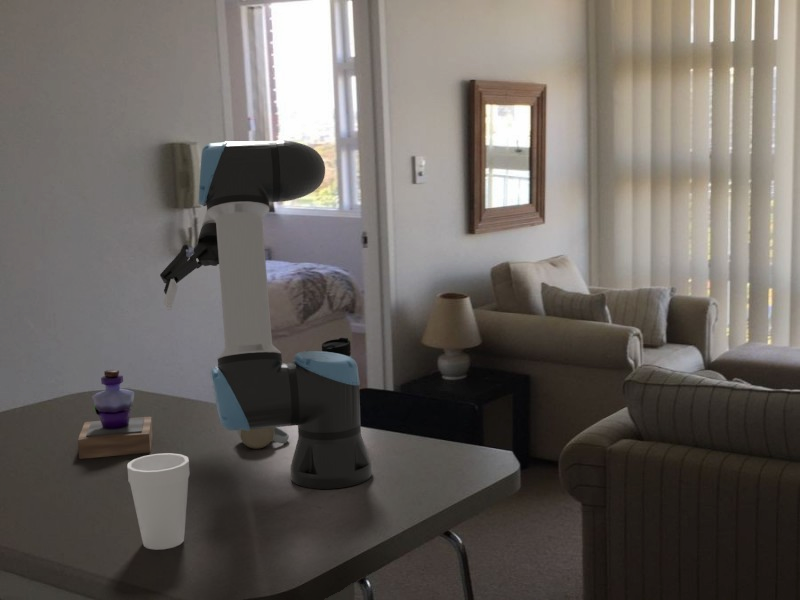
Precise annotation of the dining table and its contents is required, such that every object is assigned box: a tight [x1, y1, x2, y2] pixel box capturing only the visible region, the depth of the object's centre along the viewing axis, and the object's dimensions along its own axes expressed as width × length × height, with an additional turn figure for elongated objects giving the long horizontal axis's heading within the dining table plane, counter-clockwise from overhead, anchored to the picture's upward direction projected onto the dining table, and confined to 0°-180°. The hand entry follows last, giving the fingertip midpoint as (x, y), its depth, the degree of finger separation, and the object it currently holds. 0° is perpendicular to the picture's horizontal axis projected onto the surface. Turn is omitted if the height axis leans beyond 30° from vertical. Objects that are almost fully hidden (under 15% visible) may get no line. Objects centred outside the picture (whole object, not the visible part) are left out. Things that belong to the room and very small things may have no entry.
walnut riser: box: [77, 416, 154, 460], centre depth 210 cm, size 14×14×4 cm
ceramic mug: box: [236, 427, 290, 450], centre depth 208 cm, size 11×8×8 cm
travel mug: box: [321, 337, 352, 358], centre depth 215 cm, size 6×7×20 cm
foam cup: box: [127, 452, 191, 551], centre depth 157 cm, size 10×9×13 cm
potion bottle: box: [91, 369, 135, 430], centre depth 209 cm, size 9×9×12 cm
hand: (196, 306), depth 217 cm, fingers open, 13 cm apart
